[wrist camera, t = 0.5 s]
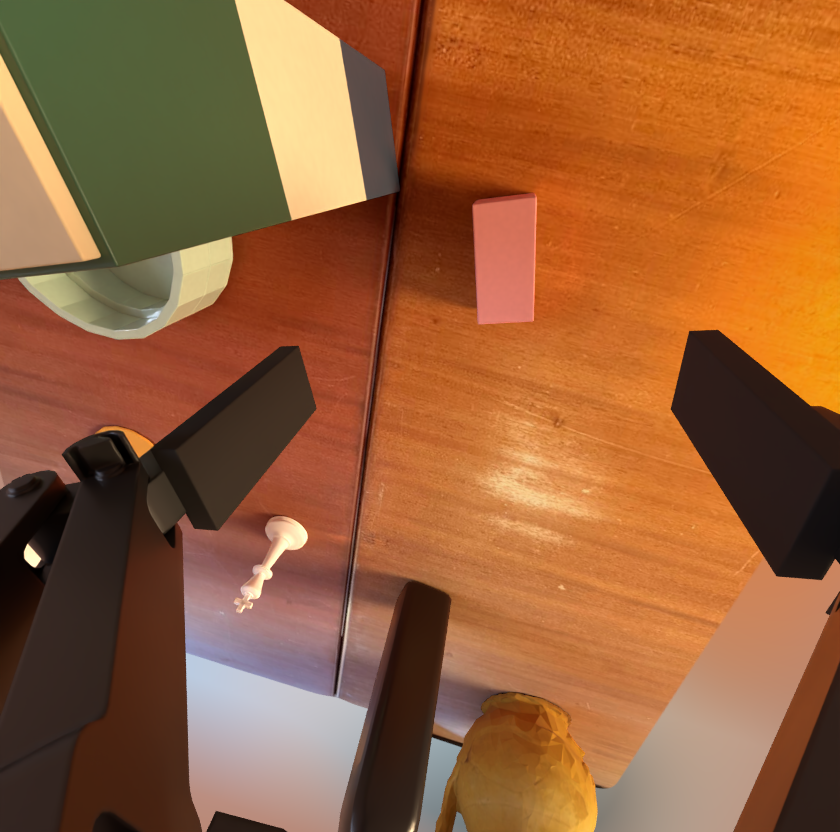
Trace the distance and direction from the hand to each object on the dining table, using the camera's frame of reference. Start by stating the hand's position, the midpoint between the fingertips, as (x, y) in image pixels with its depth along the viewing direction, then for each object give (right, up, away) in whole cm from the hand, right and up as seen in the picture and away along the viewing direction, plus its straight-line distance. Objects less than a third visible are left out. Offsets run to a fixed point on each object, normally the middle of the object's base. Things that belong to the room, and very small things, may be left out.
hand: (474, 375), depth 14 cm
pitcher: (+12, -44, +44) cm, 64 cm away
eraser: (+4, +9, +12) cm, 16 cm away
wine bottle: (-1, -23, +34) cm, 41 cm away
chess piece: (-17, -15, +32) cm, 40 cm away
